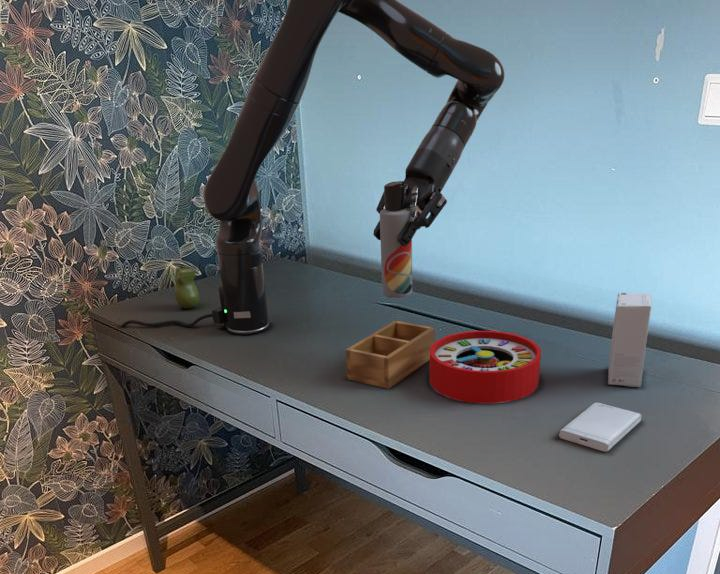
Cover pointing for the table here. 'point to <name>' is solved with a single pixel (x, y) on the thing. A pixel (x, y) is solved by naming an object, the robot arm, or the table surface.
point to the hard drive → (600, 426)
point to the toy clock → (484, 366)
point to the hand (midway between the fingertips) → (389, 240)
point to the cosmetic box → (629, 339)
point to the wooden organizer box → (390, 354)
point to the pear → (186, 288)
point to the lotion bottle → (395, 243)
